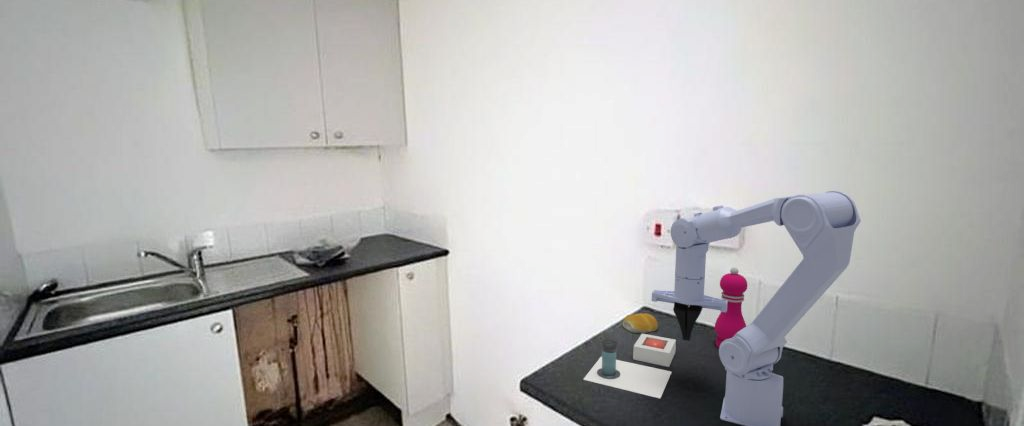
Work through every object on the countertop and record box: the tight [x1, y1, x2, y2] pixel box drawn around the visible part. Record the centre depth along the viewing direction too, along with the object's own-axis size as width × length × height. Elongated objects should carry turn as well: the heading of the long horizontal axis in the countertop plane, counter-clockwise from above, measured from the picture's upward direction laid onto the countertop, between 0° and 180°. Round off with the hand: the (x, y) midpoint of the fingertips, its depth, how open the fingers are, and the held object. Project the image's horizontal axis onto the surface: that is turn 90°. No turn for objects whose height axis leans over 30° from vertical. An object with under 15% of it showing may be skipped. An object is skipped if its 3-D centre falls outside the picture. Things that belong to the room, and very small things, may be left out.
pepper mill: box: [714, 267, 748, 349], centre depth 115 cm, size 7×7×20 cm
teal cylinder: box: [601, 339, 618, 376], centre depth 103 cm, size 3×3×7 cm
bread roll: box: [622, 312, 659, 334], centre depth 128 cm, size 8×9×4 cm
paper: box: [583, 355, 673, 399], centre depth 102 cm, size 16×12×1 cm
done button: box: [646, 339, 664, 349], centre depth 111 cm, size 4×4×2 cm
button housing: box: [632, 333, 677, 368], centre depth 111 cm, size 8×8×4 cm
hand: (686, 338), depth 99 cm, fingers closed
